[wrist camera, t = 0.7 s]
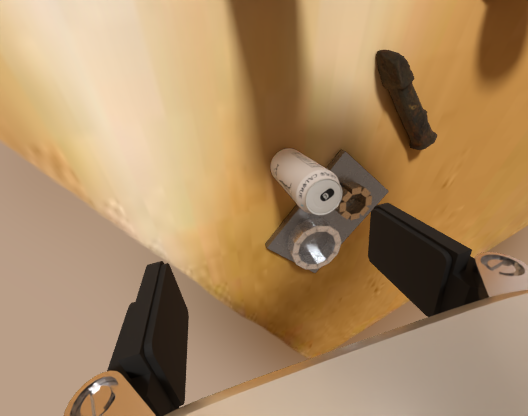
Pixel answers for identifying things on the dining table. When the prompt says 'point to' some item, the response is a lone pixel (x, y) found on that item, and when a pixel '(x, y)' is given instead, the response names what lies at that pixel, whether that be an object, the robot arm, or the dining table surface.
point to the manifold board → (328, 218)
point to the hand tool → (405, 98)
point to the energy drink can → (306, 182)
